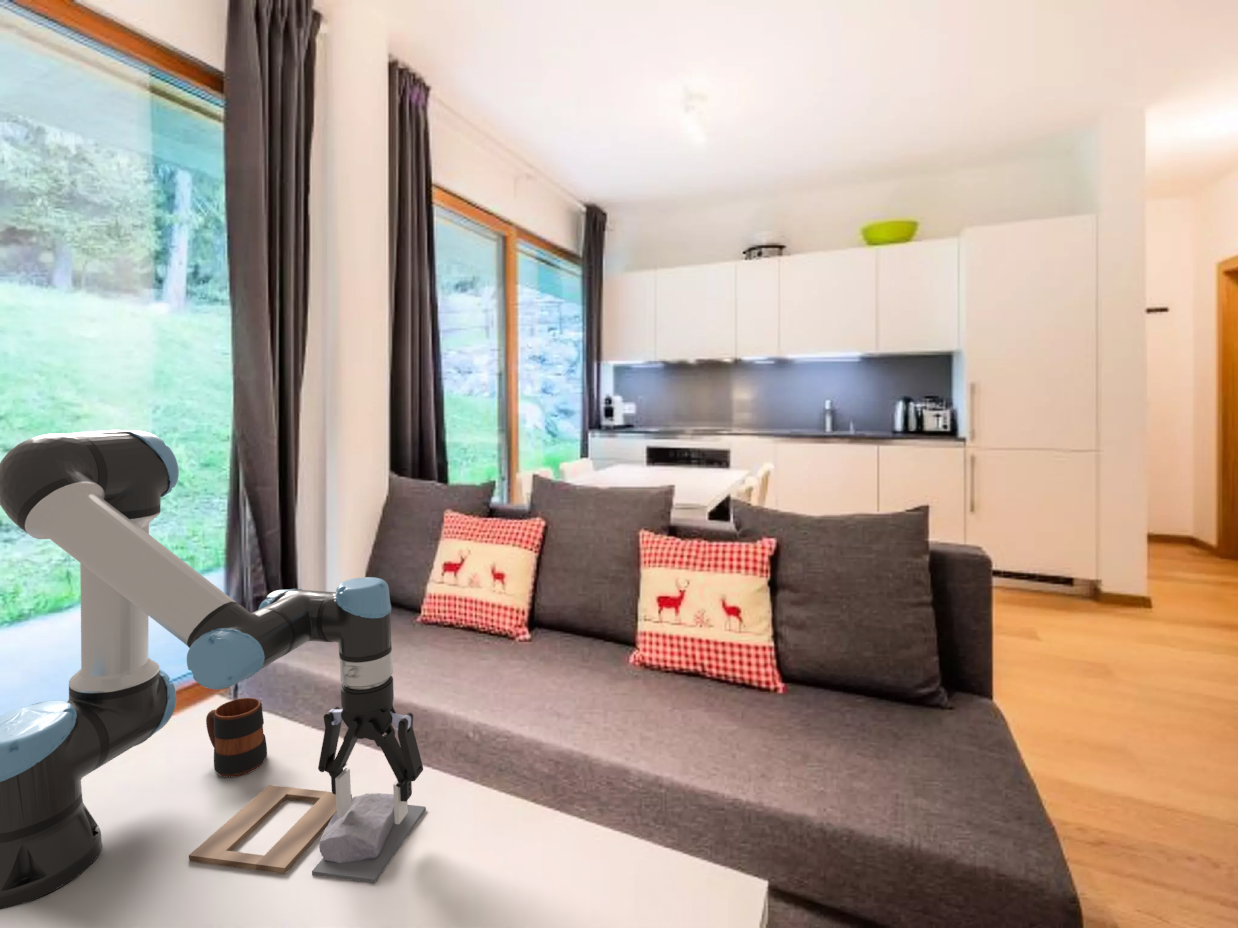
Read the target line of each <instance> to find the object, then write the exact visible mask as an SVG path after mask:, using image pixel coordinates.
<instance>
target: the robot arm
mask: <svg viewBox="0 0 1238 928" xmlns="http://www.w3.org/2000/svg"><path fill="white" fill-rule="evenodd" d="M179 471H180V469H179V463H178V461H177V459H176V456H175V454H174V452H173V450H172V448H171V447H169V446H168V445H166V444H165V442H164V440H162V439H161V438H160V437H158V436H156V435H155V434H153V433H151V432H149V431H148V432H147V431H144V430H133V429H132V430H131V429H130V430H128V429H110V430H94V431H79V432H67V433H64V432H63V433H62V432H60V433H59V432H57V433H56V432H55V433H47V434H41V435H37V436H34V437H30V438H27V439H26V440H24V441H22V442H19V443H18V444H17V445H15V446H14V447H13V448H12V449H10V450H9V451H8V452H7V453H6V455H5V456H4V457H3V458H1V461H0V507H1V508H2V510H3V512H4V513H5V514H6V516H8V518H9V519H10V520H11V521H12V522H13V523H14V524H15V525H16V526H17V527H18V528H20V529H21V530H23V531H24V532H25V533H26V534H28V536H31V537H32V538H34V539H37V540H50V541H52V542H53V543H54V544H55V545H57V547H59V548H61V549H62V550H63V551H65V553H67V554H68V555H70V556H71V557H72V558H74V560H75V561H77V562H79V563H80V564H79V565H80V567H79V568H80V574H79V575H80V648H81V649H80V662H81V664H80V665H81V668H80V669H79V670H78V671H77V672H76V673H74V674H73V675H72V676H71V677H70V678H69V680H68V700H67V701H65V700H56V699H55V700H46V701H45V700H44V701H41V702H40V701H39V702H35V703H31V704H30V705H29V706H27V707H19V708H16V709H13V710H11V711H9V712H7V713H4V714H3V715H0V910H4V909H8V908H13V907H15V906H16V907H17V906H20V905H23V904H26V903H29V902H31V901H34V900H36V899H38V898H42V897H44V896H45V895H48V894H49V893H52V892H54V891H55V890H58V889H59V888H61V887H63V886H64V885H66V884H68V883H69V882H71V881H73V879H75V878H77V877H78V876H79V875H81V874H82V873H84V872H85V871H86V870H87V869H88V868H89V867H90V866H91V865H92V864H93V863H94V862H95V860H97V858H98V856H99V855H100V853H101V851H102V848H103V842H102V831H101V829H100V827H99V825H98V823H97V822H96V820H95V818H94V817H93V816H92V814H91V812H90V811H89V809H88V808H87V807H86V805H85V803H84V800H83V789H82V779H83V778H84V777H85V776H88V775H89V774H90V773H92V772H94V771H95V770H96V771H97V769H99V768H101V767H103V766H104V765H106V764H108V763H109V762H110V761H112V760H114V759H115V758H117V757H119V756H120V755H122V754H124V753H126V752H127V751H129V750H130V749H132V748H133V747H136V746H139V745H141V744H143V743H144V742H146V741H147V740H148V739H150V738H151V737H152V736H153V735H155V734H156V733H157V732H159V731H160V730H161V729H162V728H164V727H165V726H166V725H167V724H168V723H169V722H170V720H171V718H172V716H173V714H174V712H175V709H176V704H177V692H176V688H175V684H174V683H173V682H171V683H170V679H171V678H170V676H169V675H168V674H167V672H166V671H164V670H162V669H160V665H159V663H158V662H156V661H155V660H153V659H151V658H149V617H150V618H151V619H152V620H154V621H155V622H156V623H157V624H158V625H160V626H161V627H162V628H163V629H165V630H166V631H168V632H169V633H170V634H171V635H173V636H174V637H176V638H177V639H178V640H179V641H181V642H182V643H183V644H184V645H185V646H187V647H188V648H189V649H188V651H187V654H186V666H187V669H188V670H189V671H191V673H192V678H193V679H194V681H195V682H196V683H198V684H199V685H201V686H202V687H203V688H206V689H210V690H224V689H227V688H230V687H232V686H234V685H236V684H239V683H240V682H242V681H245V680H247V679H249V678H251V677H254V676H255V675H256V674H257V673H258V672H260V671H261V670H263V669H264V668H266V667H267V666H269V665H270V664H272V663H273V662H275V661H277V660H278V659H280V658H282V657H284V656H286V655H287V654H289V653H290V652H293V651H294V650H295V649H297V648H299V647H300V646H303V645H304V644H305V643H309V642H322V643H323V642H324V643H337V645H338V654H339V656H338V657H339V677H340V683H341V685H340V701H341V702H340V704H341V709H340V707H339V706H338V705H337V706H336V705H335V706H334V707H332V708H331V709H330V710H328V711H327V712H326V713H325V714H324V715H323V721H324V733H323V739H322V744H321V745H322V746H321V750H320V755H319V760H318V766H317V768H318V771H319V772H320V773H324V772H326V773H327V774H328V775H329V776H330V781H331V783H330V784H331V792H332V793H333V794H336V804H337V817H339V818H342V817H343V815H344V814H345V813H346V812H347V811H348V810H349V809H350V808H351V794H352V791H351V769H350V768H348V767H346V766H347V765H348V760H349V758H350V756H351V754H352V752H353V750H354V747H355V745H356V743H357V741H358V740H363V739H367V740H370V741H374V743H375V744H376V746H377V747H380V749H381V751H382V753H383V754H384V756H385V759H386V761H387V764H389V767H390V769H391V770H392V772H393V774H394V776H395V778H396V781H394V783H393V785H392V786H393V794H394V818H395V824H400V823H401V821H402V820H403V818H404V817H405V816H406V814H407V813H408V805H409V804H408V801H409V800H410V798H411V797H412V793H413V787H412V786H413V784H412V783H413V782H415V781H416V780H417V779H418V778H419V776H420V775H421V774H422V772H423V771H424V766H423V762H422V761H423V760H422V758H421V754H420V750H419V746H418V742H417V738H416V734H415V730H414V727H413V725H414V714H413V713H412V712H407V713H406V714H401V713H397V712H396V710H395V707H394V706H393V704H394V698H395V697H394V695H395V694H394V677H393V673H394V668H393V667H394V664H393V648H392V626H391V625H392V622H391V621H392V614H391V612H392V603H391V598H390V587H389V585H388V583H387V581H385V579H382V578H379V577H372V576H371V577H370V576H366V577H357V578H356V577H355V578H350V579H347V580H345V581H342V582H340V583H339V584H338V586H337V587H336V590H335V591H324V590H310V589H307V590H306V589H302V588H290V589H278V590H273V591H272V592H270V593H269V594H267V595H266V598H265V599H264V600H262V601H261V602H260V604H259V606H258V609H257V610H255V611H253V612H250V611H249V610H247V609H246V608H245V607H244V606H242V605H241V604H239V603H238V602H237V601H235V600H234V599H233V598H232V597H230V596H229V595H227V594H226V593H225V592H224V591H223V590H222V589H220V588H219V587H217V585H215V584H213V583H212V582H211V581H210V580H208V579H207V578H206V577H204V576H203V575H202V574H201V573H199V572H198V571H197V570H196V569H194V568H193V567H192V566H190V564H188V563H187V562H185V560H183V559H181V558H180V557H179V556H178V555H176V554H174V552H172V551H171V550H170V549H168V548H167V547H166V546H164V545H163V544H162V543H161V542H159V541H158V540H157V539H156V538H154V537H153V536H152V535H150V524H151V522H152V521H153V520H154V519H155V518H157V517H158V516H159V515H160V514H161V501H162V500H161V498H163V497H165V496H167V495H168V494H169V493H171V491H172V490H173V488H175V487H176V485H177V483H178V480H179V476H180V475H179V474H180V473H179ZM342 721H343V723H344V724H345V726H346V727H347V730H346V733H345V734H344V737H343V739H342V740H343V741H342V744H341V745H340V748H339V749H338V752H337V748H338V743H339V737H340V732H341V727H342ZM392 723H393V724H394V725H395V728H394V727H393V725H392ZM396 732H397V737H398V739H397V737H396Z"/></svg>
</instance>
